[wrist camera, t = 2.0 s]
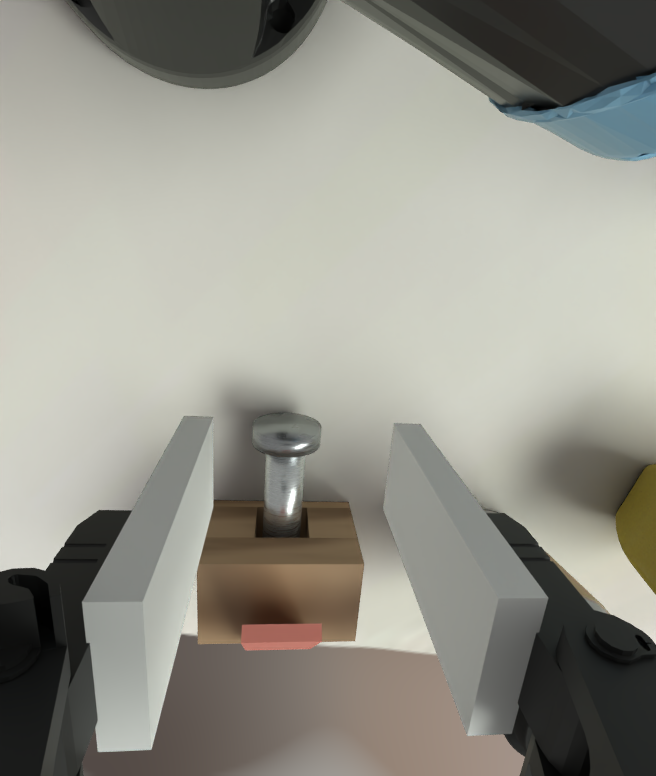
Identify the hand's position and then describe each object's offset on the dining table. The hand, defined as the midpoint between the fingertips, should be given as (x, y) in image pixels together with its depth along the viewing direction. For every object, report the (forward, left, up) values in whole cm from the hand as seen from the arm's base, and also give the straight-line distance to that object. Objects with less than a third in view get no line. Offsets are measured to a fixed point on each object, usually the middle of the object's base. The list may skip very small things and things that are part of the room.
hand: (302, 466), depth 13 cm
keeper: (+15, 0, -9) cm, 18 cm away
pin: (+11, 0, -18) cm, 21 cm away
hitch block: (+16, 0, -19) cm, 24 cm away
